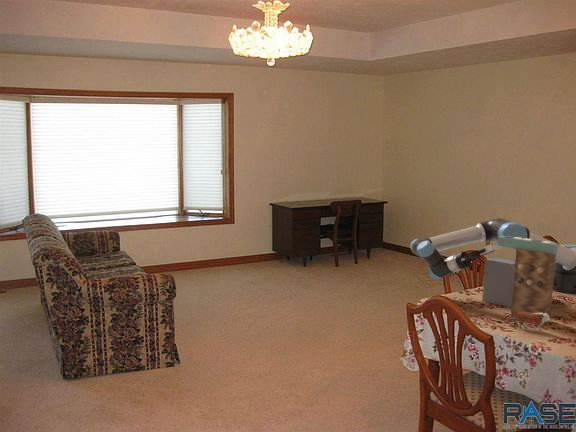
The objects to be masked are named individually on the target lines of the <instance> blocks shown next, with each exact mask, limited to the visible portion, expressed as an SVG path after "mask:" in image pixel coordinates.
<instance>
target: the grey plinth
mask: <svg viewBox="0 0 576 432" xmlns="http://www.w3.org/2000/svg"><path fill="white" fill-rule="evenodd" d="M514 273H515V260H512V259H506V258H501V257H495V256H492V257H489V258H486V259H485V260H484V273H483V274H484V275H483V288H482V302H486V303H488V304H489V303H490V304H493V305H494V304H495V305H498V306H504V307H507V308H510V307H512V298H513V286H514Z"/></svg>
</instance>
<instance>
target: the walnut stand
mask: <svg viewBox="0 0 576 432" xmlns="http://www.w3.org/2000/svg"><path fill="white" fill-rule="evenodd" d="M555 258H556V254H548V253H542V252H536V251H529V250H523V249H516V250H515V260H514V261H515V273H514V286H513V298H512V306H511V315H510V318H512V319H516V312H517V311H522V312H529V313H547V314H548V315H549V318H550V319H551V314H552V302H553V291H554V290H553V281H554V270H555ZM517 319H518V317H517ZM517 319H516V320H517ZM549 322H550V321H547V322H544V323H543V324H542V325H543V326H544V325H546V324H547V323H549ZM542 325H541V326H542Z"/></svg>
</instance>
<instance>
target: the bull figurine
mask: <svg viewBox="0 0 576 432" xmlns="http://www.w3.org/2000/svg"><path fill="white" fill-rule="evenodd" d="M517 317H518V319H517ZM515 320H516V321H517V326H518V328H521V330H523V331H526V328H525V325H524V322H525V323H526V325H528V326H529V325H530V324H534V329H533V331H534V332H536V333H537V332H538V331H540V332H541V331H542V329H541V326H542V324H543V323H544V322H547V321H549V322H551V317H550V318H549V315H548V314H547V313H529V312H522V311H517V312H516V318H515Z"/></svg>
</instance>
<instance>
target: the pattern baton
mask: <svg viewBox="0 0 576 432" xmlns="http://www.w3.org/2000/svg"><path fill="white" fill-rule="evenodd" d="M552 242H553V241H552ZM552 242H548V241H541V240H532V239H527V238H525V239H523V238H520V237H512V236H498V242H497V243H498V245H497V246H503V248H509V247H510V248H509V249H513V248H516V249H523V250H529V251H536V252H542V253H548V254H556V253H557V250H558V244H559V243H558V242H557V243H556V242H555V243H552Z"/></svg>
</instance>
